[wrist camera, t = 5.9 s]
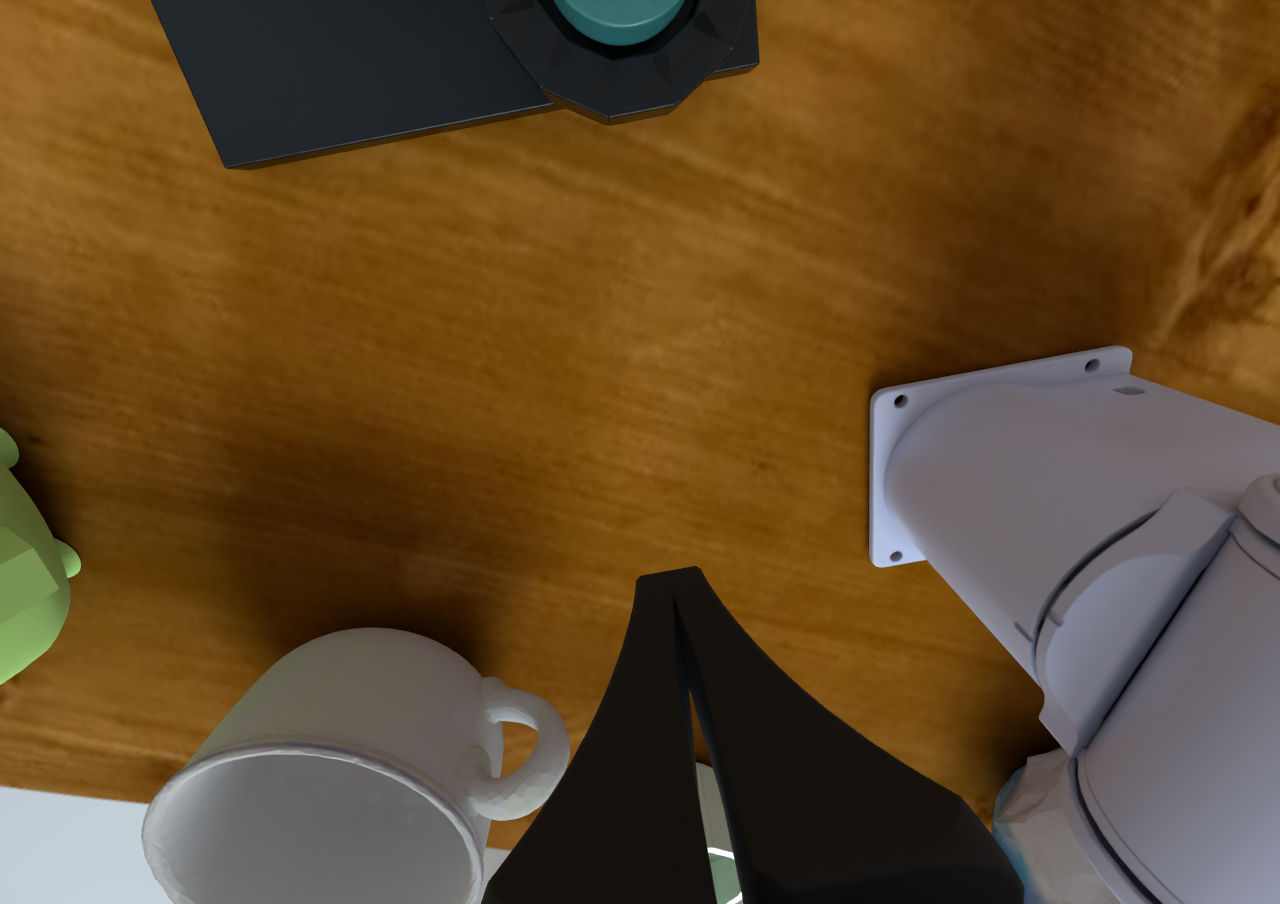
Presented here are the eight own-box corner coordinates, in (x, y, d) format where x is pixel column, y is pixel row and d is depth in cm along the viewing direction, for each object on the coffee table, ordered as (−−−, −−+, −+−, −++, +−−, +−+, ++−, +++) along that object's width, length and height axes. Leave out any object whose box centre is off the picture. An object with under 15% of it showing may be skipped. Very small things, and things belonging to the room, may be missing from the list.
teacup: (326, 777, 28) (228, 985, 20) (222, 609, 23) (48, 801, 16) (603, 732, 27) (604, 925, 20) (555, 553, 23) (534, 721, 16)
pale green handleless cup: (726, 745, 28) (747, 837, 24) (737, 813, 31) (758, 908, 27) (619, 764, 29) (622, 859, 24) (638, 830, 31) (644, 927, 27)
